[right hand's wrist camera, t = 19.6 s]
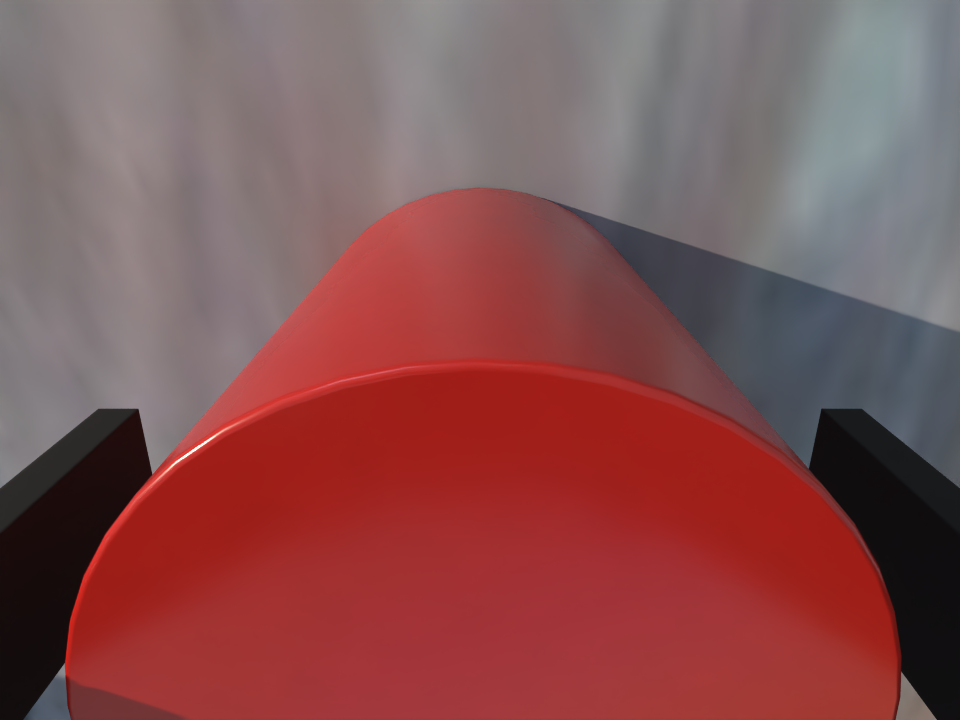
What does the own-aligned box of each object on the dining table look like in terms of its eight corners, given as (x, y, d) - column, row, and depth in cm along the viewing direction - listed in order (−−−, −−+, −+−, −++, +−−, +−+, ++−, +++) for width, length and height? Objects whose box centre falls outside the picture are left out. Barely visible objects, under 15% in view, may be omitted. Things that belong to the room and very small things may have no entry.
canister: (261, 417, 19) (-31, 845, 8) (407, 116, 16) (252, 160, 5) (538, 547, 20) (603, 1044, 10) (719, 296, 17) (1099, 619, 7)
